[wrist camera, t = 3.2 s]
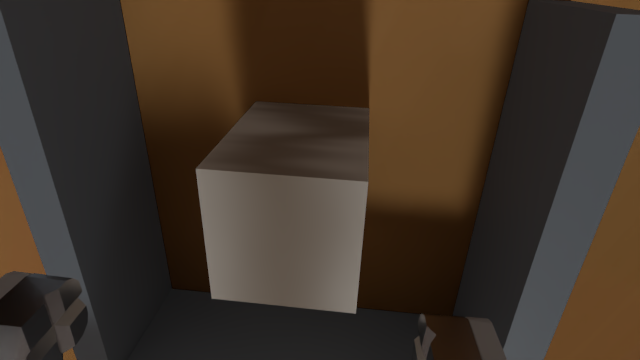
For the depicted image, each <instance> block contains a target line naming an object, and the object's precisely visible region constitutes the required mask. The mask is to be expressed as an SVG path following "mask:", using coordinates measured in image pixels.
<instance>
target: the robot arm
mask: <svg viewBox="0 0 640 360" xmlns="http://www.w3.org/2000/svg"><path fill="white" fill-rule="evenodd" d="M81 293H82V289H81V285H80V282H79V280H76V279H74V278H67V277H59V276H51V275H43V274H35V273H34V274H31V273H24V272H16V271H13V272H10V273H7V274H5V275H4V276H2V277H1V278H0V360H63V353H64V352H66V351H67V350H69V349H71V348H72V347H74V346H76V344H77V343H78V342H79V340H80V339H81V337H82V336H83V334H84V331H85V329H86V326H87V323H88V311H87V307H86V305H85V304H84V303H83V302H82V301H81V300H80V299H79V298H78V297H79V296H80V294H81ZM417 326H418V332H419V336H418V337H417V338H415V339H414V343H413V349H412V360H507V358H506V356H505V354H504V351H503V349H502V346H501V344H500V341H499V339H498V337H497V334H496V332H495V329H494V327H493V324H492V322H491V321H490V320H489V319H487V318H475V317H462V316H451V315H440V314H429V313H421V315H420V317H419V321H418V325H417Z"/></svg>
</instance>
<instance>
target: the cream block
mask: <svg viewBox="0 0 640 360" xmlns="http://www.w3.org/2000/svg"><path fill="white" fill-rule="evenodd" d="M368 168H369V108H357V107H341V106H324V105H308V104H291V103H275V102H258V101H256V102H255V103H254V104H253V105H252V106H251V107H250V109H249V110H248V111H247V112H246V113H245V114H244V115H243V116H242V117H241V119H240V120H239V121H238V122H237V123H236V124H235V125H234V126H233V127H232V129H231V130H230V131H229V132H228V133H227V134H226V135H225V136H224V138H223V139H222V140H221V141H220V142H219V143H218V144H217V145H216V146H215V148H214V149H213V150H212V151H211V152H210V153H209V154H208V155H207V157H206V158H205V159H204V160H203V161H202V162H201V163H200V164H199V165H198V167H197V168H196V176H197V184H198V192H199V200H200V208H201V216H202V224H203V232H204V240H205V248H206V257H207V265H208V273H209V281H210V289H211V297H212V299H221V300H230V301H240V302H249V303H259V304H268V305H278V306H288V307H297V308H307V309H316V310H326V311H335V312H345V313H355V314H356V308H357V297H358V287H359V276H360V265H361V255H362V244H363V233H364V223H365V212H366V201H367V191H368Z"/></svg>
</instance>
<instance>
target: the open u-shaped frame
mask: <svg viewBox="0 0 640 360" xmlns="http://www.w3.org/2000/svg"><path fill="white" fill-rule="evenodd" d="M639 125H640V10H633V9H626V8H619V7H612V6H604V5H597V4H590V3H583V2H576V1H559V0H529V2H528V6H527V11H526V15H525V19H524V23H523V27H522V31H521V35H520V39H519V44H518V48H517V52H516V56H515V60H514V64H513V68H512V72H511V77H510V81H509V85H508V89H507V93H506V97H505V101H504V105H503V110H502V114H501V118H500V122H499V126H498V130H497V134H496V138H495V143H494V147H493V151H492V155H491V159H490V163H489V167H488V171H487V176H486V180H485V184H484V188H483V192H482V196H481V200H480V204H479V209H478V213H477V217H476V221H475V225H474V229H473V233H472V237H471V242H470V246H469V250H468V254H467V258H466V262H465V266H464V270H463V275H462V279H461V283H460V287H459V291H458V295H457V299H456V303H455V308H454V312H453V316H462V317H475V318H487V319H489V320H490V321H491V322H492V324H493V327H494V329H495V332H496V334H497V337H498V339H499V341H500V344H501V346H502V349H503V351H504V354H505V356H506V358H507V360H544V357H545V355H546V352H547V350H548V347H549V345H550V343H551V340H552V338H553V335H554V333H555V330H556V328H557V325H558V323H559V321H560V318H561V316H562V313H563V311H564V308H565V306H566V304H567V301H568V299H569V296H570V294H571V291H572V289H573V286H574V284H575V282H576V279H577V277H578V274H579V272H580V269H581V267H582V264H583V262H584V260H585V257H586V255H587V252H588V250H589V247H590V245H591V243H592V240H593V238H594V235H595V233H596V230H597V228H598V225H599V223H600V221H601V218H602V216H603V213H604V211H605V208H606V206H607V203H608V201H609V199H610V196H611V194H612V191H613V189H614V186H615V184H616V182H617V179H618V177H619V174H620V172H621V169H622V167H623V164H624V162H625V160H626V157H627V155H628V152H629V150H630V147H631V145H632V142H633V140H634V138H635V135H636V133H637V130H638V128H639ZM0 146H1V149H2V152H3V155H4V157H5V160H6V163H7V166H8V168H9V171H10V174H11V177H12V180H13V182H14V185H15V188H16V191H17V194H18V196H19V199H20V202H21V205H22V208H23V210H24V213H25V216H26V219H27V222H28V224H29V227H30V230H31V233H32V235H33V238H34V241H35V244H36V247H37V249H38V252H39V255H40V258H41V261H42V263H43V266H44V269H45V272H46V275H51V276H59V277H67V278H74V279H76V280H79V282H80V285H81V289H82V293H81V294H80V296H79V297H78V298H79V299H80V300H81V301H82V302H83V303H84V304H85V305H86V307H87V311H88V323H87V326H86V329H85V331H84V334H83V336H82V337H81V339H80V340H79V342H78V343H77V344H76V346H74V347H73V350H74V353H75V356H76V358H77V360H412V349H413V343H414V339H415V338H417V337H418V336H419V332H418V326H417V325H418V321H419V317H420V315H421V314H413V313H403V312H393V311H383V310H374V309H364V308H356V314H355V313H345V312H335V311H326V310H316V309H307V308H297V307H288V306H278V305H268V304H259V303H249V302H240V301H230V300H221V299H212V297H211V293H208V292H199V291H189V290H179V289H172V287H171V281H170V276H169V270H168V265H167V259H166V254H165V248H164V242H163V237H162V231H161V226H160V220H159V215H158V209H157V204H156V198H155V193H154V187H153V182H152V176H151V171H150V165H149V160H148V154H147V148H146V143H145V137H144V132H143V126H142V121H141V115H140V110H139V104H138V99H137V93H136V88H135V82H134V77H133V71H132V66H131V60H130V54H129V49H128V43H127V38H126V32H125V27H124V21H123V16H122V10H121V5H120V0H0Z"/></svg>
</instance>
